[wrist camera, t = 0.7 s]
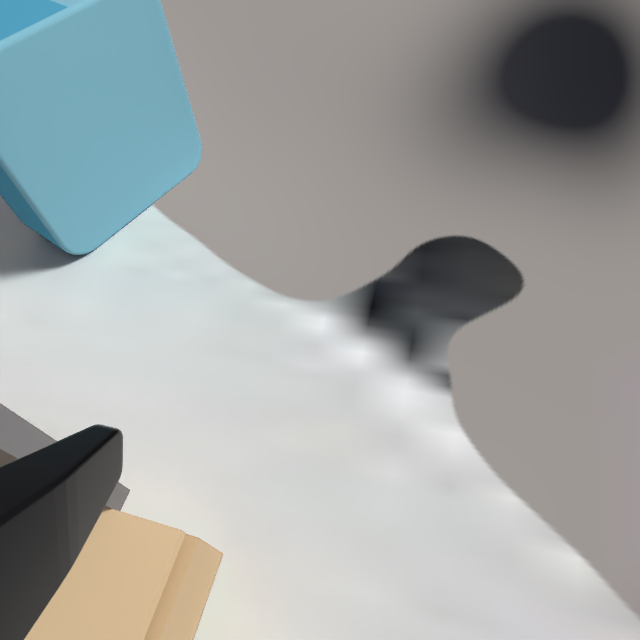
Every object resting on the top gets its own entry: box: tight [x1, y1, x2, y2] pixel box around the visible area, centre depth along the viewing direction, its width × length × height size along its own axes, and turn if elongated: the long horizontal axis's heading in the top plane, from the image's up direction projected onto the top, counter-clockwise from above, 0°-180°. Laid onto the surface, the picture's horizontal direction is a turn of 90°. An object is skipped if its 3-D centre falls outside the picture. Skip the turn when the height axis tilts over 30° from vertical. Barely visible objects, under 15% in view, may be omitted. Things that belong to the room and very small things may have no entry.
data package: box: [0, 0, 202, 255], centre depth 27 cm, size 12×4×12 cm, turn 144°
